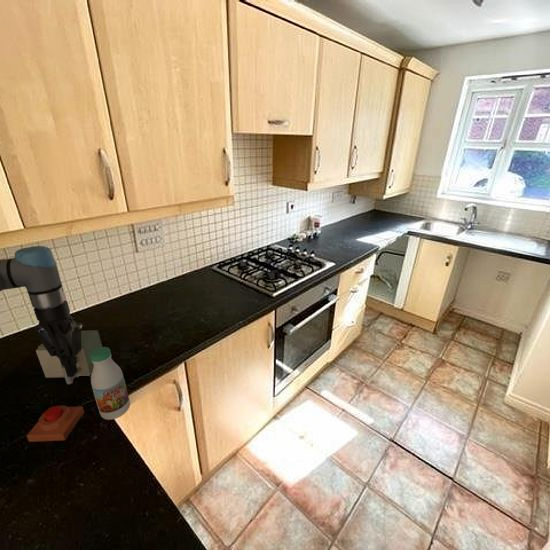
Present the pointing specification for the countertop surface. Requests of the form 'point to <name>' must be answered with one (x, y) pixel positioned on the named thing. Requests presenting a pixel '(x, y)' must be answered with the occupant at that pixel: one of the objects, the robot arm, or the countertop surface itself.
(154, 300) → the countertop surface
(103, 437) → the countertop surface
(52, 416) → the button
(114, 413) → the milk bottle
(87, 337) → the cupboard
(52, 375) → the slide door
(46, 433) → the button box
